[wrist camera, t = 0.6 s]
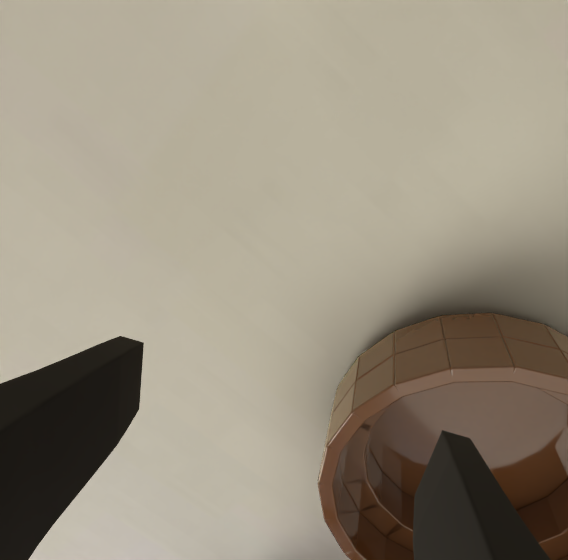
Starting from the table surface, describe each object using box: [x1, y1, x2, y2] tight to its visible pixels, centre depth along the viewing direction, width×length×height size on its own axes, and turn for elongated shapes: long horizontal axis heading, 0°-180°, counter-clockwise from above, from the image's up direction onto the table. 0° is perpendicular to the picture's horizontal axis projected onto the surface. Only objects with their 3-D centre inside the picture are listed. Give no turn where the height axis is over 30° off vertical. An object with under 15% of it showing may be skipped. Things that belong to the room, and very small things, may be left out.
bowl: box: [318, 313, 568, 560], centre depth 19 cm, size 12×12×4 cm
